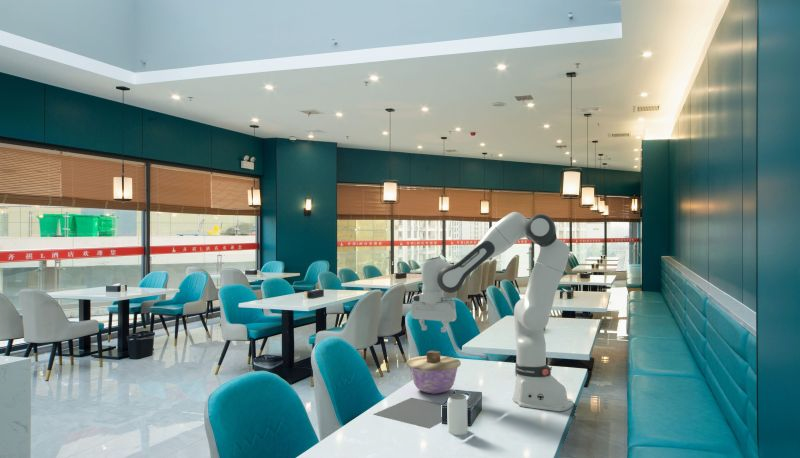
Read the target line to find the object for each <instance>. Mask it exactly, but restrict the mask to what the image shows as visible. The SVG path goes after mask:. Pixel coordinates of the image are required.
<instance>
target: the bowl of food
mask: <svg viewBox="0 0 800 458" xmlns="http://www.w3.org/2000/svg"><path fill="white" fill-rule="evenodd" d="M458 368H459V367H457V368H454V369H449V370H438V371H431V370H420V369H415V368H411V367H409V369H410V372H411V377H412V381H413V384H414V386H415V387H416V388H417V390H419V391H421V392H423V393H427V394H441V393H442V394H443V393H445V392H448V391H449V390H451V389H452V387H453V386H454V385H455V382H456V381H455V380H456V376H457V372H458Z"/></svg>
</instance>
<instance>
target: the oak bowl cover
mask: <svg viewBox="0 0 800 458" xmlns="http://www.w3.org/2000/svg"><path fill="white" fill-rule="evenodd" d="M406 365H407V367H409V368H410V367H411V368H415V369H420V370H431V371H438V370H449V369H454V368H457V367H458V368H459V367H460V366H461V365H462V363H461V360H460V359H458V358H455V357H451V356H447V355H446V356H444V355H441V351H436V350H429V351H427V352H426V355H424V356H423V355H422V356H414V357H411V358H408V360H406ZM458 368H457V369H458Z"/></svg>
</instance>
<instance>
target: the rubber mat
mask: <svg viewBox="0 0 800 458" xmlns="http://www.w3.org/2000/svg"><path fill="white" fill-rule="evenodd" d="M442 404H443V403H439V402H434V401H430V400H426V399H425V400H424V399H420V398H416V397H410V398H408V399H407V398H406V399H404V400H403V401H401V402H398V403H396V404H393V405H392V406H389V407H386V408H384V409H382V410H379V411H377V412H375V413H372V414H373V416H377V417H381V418H386V419H389V420H392V421H398V422H402V423H405V424H409V425H414V426H417V427H422V428H427V429H431V428H433V427H435V426H437V425H439V424H440V423H442V422H443V421H442V417H441V405H442Z"/></svg>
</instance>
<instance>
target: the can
mask: <svg viewBox="0 0 800 458" xmlns="http://www.w3.org/2000/svg"><path fill="white" fill-rule="evenodd" d="M446 405H447V419H446V420H447V422H446V423H447V424H446V425H447V433H448V434H449V435H453V436H463V435H464V436H465V435H467V434H468V400H467V396H466V395H465V394H462V393H451V394H449V395H448V399H447V402H446Z"/></svg>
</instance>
